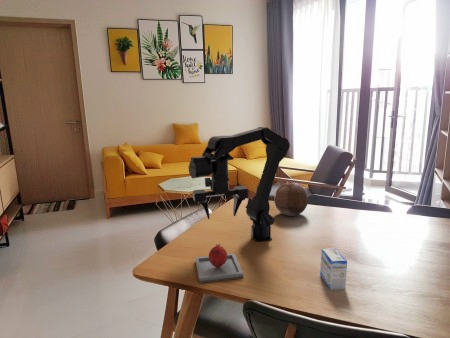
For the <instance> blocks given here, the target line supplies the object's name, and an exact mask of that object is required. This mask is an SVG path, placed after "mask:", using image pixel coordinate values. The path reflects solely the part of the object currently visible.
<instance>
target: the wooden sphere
mask: <svg viewBox="0 0 450 338" xmlns="http://www.w3.org/2000/svg"><path fill="white" fill-rule="evenodd" d="M273 197H274V198H273V200H274V201H273V202H274V205H275V207H276V209H277V211H279V212H280V213H281V214H283V215H285V216H287V217H297V216H298V215H300V214H302V213H303V212H304V211H305V209H306V208H307V207H308V204H309V196H308V193H307V191H306V190H305V188H304V187H303V185H300V184H298V183H296V182H285V183H283V184H281V185H280V186H279V187H278V188H277V189H276V191H275V193H274V196H273Z"/></svg>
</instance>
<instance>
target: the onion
mask: <svg viewBox="0 0 450 338" xmlns="http://www.w3.org/2000/svg"><path fill="white" fill-rule="evenodd" d="M227 254H228V253H227V250H226V249H225V248H224V247H223V246H221V244H220V243H219V242H218V243H216V244H215V246H214V247H213V246H212V248H211V249H210V251H209V253H208V256H209V261H210V263H211V264H212V265H213V266H215V267H217V268H219V267H221V266H222V265H223V264H225V262H226V261H227Z"/></svg>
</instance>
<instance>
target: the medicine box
mask: <svg viewBox="0 0 450 338" xmlns="http://www.w3.org/2000/svg"><path fill="white" fill-rule="evenodd" d="M320 254H321V256H320V270H319V276H320V277H321V278H322V280H323V282H325V284H326V286H327V287H328V288H329V289H330V291H333V290H345V289H346V287H347V286H346V284H347V272H348V271H347V269H348V261H347V259H346V258H345V257H344V256H343V255H342V254H341V253H340V252H339V251H338V250H337V248H329V247H327V248H322V249H321V253H320Z"/></svg>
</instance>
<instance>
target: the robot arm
mask: <svg viewBox="0 0 450 338" xmlns="http://www.w3.org/2000/svg"><path fill="white" fill-rule="evenodd" d="M257 141H261V142H262V144H264V145H265V156H266V160H265V164H264V167H263V170H262V174H261V176H260V180H259V183H258V186H257V190H256V193H255V195H254V196H253V197H252V198H251V197H250V191H249V189H248V188H247V187H246V186H245V185H235V186H234V187H233V189H230V186H229V181H230V179H229V161H232V160H234V159H235V158H234V157H233V156H232V155H231V154H230V153H231V152H233V151H234V150H235V149H236V148H238V147H241V146H244V145H248V144H250V143H254V142H257ZM290 147H291V144H290V142H289V139H288V138H286V137H283V136H281V135H279V134H277V132H274V131H273V130H272V129H271V128H269V127H268V126H267V127H266V126H259V127H256V128H254V129H250V130H247V131H242V132H239V133H236V134H233V135H217V136H215V135H214V136H212V137H210V138H209V139H208V141H207V146H206V148H205V149H204V150H203V152H202V154H201V156H192V157H190V161H189V164H188V166H187V167H188V172H189V176H190V177H191V178H192V179H199V178H204V177H205V178H204V186H205V188H210V191H205V189H203V188H202V189H194V190H193V191H192V198H193V199H192V200H193V201H194V202H195V203H197V204H198V205H202V207H203V209H204V212H205V214H206V217H207V219H208V220H210V211H209V203H208V200H207V198H217V197H226V196H227V197H228V196H233V207H232V209H233V211H232V213H233V217H236V215H237V213H238V210H239V208H240V206H241V205H242V202H243V201H245V200H246V198H248V199H247V203H246V205H245V207H244V208H245V209H246V210H245V212H246V215H247V216H248V217H249V220H250V221H252V225H251V226H250V227H251V229H250V231H251V232H250V235H251V238H253V240H254V241H255V242H261V241H262V242H264V241H272V240H273V238H272V236H271V232H272V231H271V230H272V229H271V228H272V227H271V226H272V225H274V222H275V218H274V216H272V215H271V214H270V208H271V207H270V200H269V198H270V194H271V192H272V188H273V185H274V182H275V178H276V175H277V172H278V169H279V165H280V163H281V161H282V160H283V159H285V157H286V156H287V154H288V152H289V149H290ZM209 176H211V177H209Z"/></svg>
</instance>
